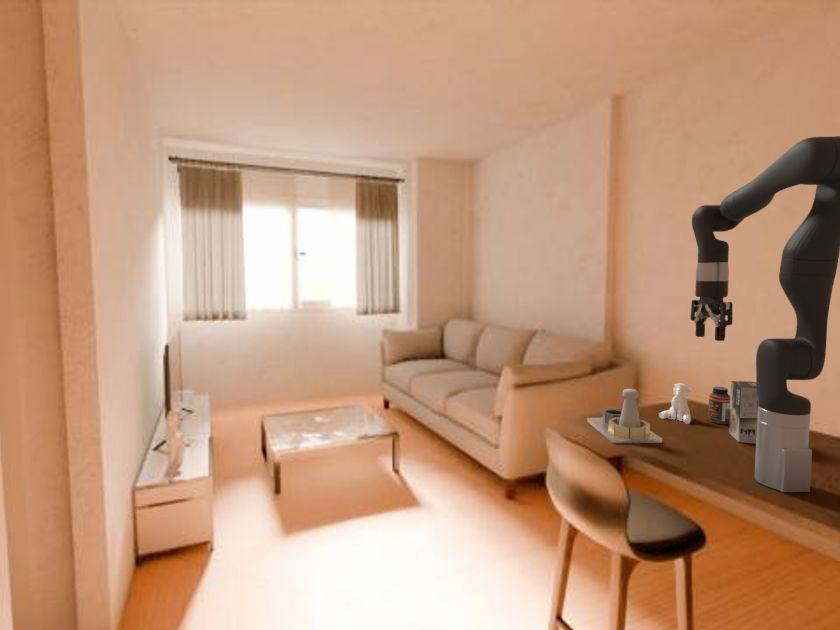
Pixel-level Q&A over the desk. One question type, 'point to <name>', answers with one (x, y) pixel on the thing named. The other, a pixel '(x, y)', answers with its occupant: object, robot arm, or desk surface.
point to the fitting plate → (620, 440)
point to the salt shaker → (630, 409)
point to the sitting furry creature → (678, 405)
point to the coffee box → (743, 411)
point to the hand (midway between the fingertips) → (709, 338)
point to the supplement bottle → (719, 406)
